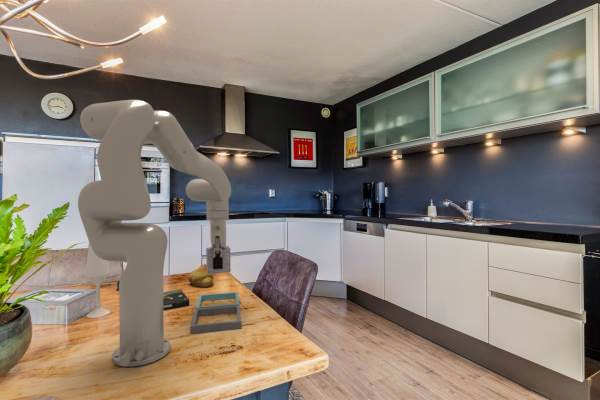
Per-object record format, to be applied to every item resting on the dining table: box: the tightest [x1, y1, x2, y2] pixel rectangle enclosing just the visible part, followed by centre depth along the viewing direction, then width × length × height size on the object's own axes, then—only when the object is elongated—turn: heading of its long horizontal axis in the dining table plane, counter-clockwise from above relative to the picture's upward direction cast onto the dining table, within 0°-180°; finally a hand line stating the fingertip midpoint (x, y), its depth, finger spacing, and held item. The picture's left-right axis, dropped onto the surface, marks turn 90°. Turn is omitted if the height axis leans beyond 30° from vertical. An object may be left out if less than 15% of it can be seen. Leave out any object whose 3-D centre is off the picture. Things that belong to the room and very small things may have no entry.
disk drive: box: [163, 289, 190, 311], centre depth 112 cm, size 10×3×15 cm
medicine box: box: [205, 245, 232, 274], centre depth 110 cm, size 8×4×9 cm, turn 111°
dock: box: [189, 291, 242, 334], centre depth 102 cm, size 29×14×2 cm, turn 13°
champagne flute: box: [85, 242, 111, 319], centre depth 102 cm, size 7×7×24 cm
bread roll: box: [188, 263, 214, 288], centre depth 135 cm, size 13×10×8 cm
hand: (218, 266), depth 110 cm, fingers closed on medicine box, 4 cm apart
